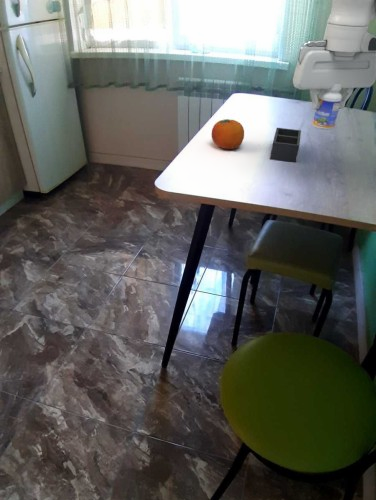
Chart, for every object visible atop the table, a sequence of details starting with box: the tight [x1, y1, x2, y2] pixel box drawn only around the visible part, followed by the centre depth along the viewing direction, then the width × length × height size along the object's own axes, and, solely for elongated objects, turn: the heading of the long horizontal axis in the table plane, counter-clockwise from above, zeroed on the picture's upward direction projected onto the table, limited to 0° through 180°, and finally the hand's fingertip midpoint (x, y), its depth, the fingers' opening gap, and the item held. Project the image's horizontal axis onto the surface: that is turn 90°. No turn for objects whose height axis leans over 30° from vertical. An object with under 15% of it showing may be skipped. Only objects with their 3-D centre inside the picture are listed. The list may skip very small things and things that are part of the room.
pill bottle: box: [312, 85, 343, 131], centre depth 100 cm, size 5×5×10 cm
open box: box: [269, 127, 302, 164], centre depth 133 cm, size 8×15×5 cm, turn 167°
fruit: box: [211, 118, 245, 150], centre depth 133 cm, size 11×10×8 cm
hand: (327, 108), depth 101 cm, fingers closed on pill bottle, 5 cm apart
